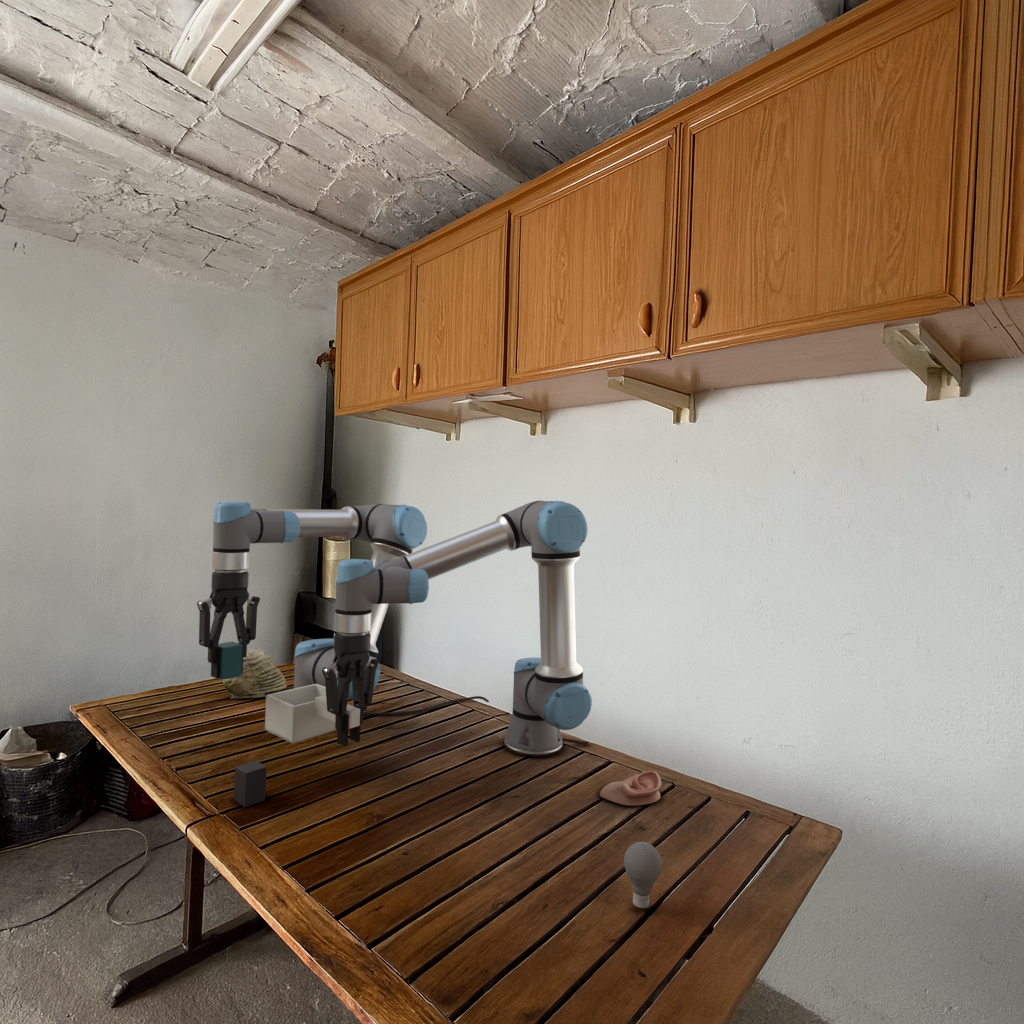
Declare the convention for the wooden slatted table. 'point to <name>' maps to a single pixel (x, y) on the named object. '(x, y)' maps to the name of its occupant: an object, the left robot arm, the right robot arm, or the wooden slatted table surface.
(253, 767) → the charcoal block
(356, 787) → the wooden slatted table surface
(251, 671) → the fossil
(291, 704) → the handled box
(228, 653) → the teal block
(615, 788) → the anatomical model
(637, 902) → the light bulb
